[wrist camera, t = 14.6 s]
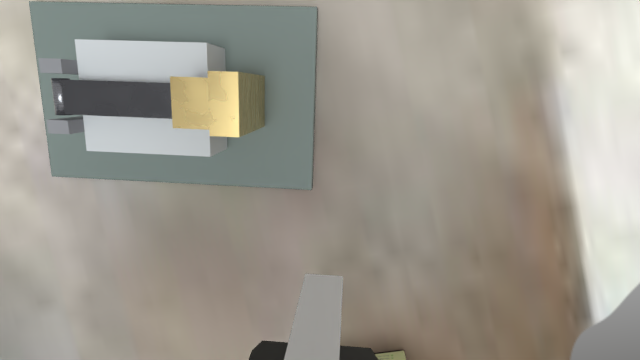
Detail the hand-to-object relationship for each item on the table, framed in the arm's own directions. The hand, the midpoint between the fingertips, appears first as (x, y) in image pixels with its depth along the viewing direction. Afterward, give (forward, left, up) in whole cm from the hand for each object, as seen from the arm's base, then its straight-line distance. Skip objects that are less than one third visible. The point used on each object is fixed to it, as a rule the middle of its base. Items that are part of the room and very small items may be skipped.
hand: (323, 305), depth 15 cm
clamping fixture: (-18, +7, -26) cm, 32 cm away
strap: (-18, +7, -20) cm, 28 cm away
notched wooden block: (-11, +7, -25) cm, 28 cm away
